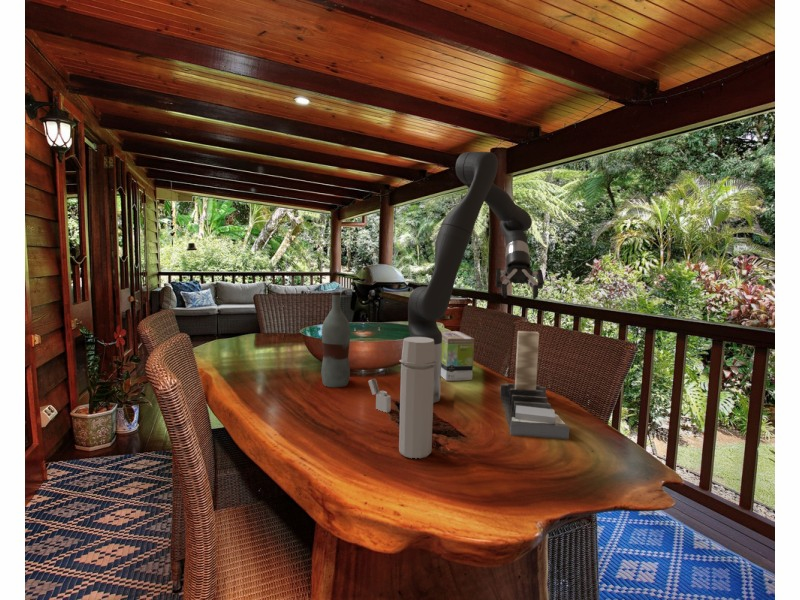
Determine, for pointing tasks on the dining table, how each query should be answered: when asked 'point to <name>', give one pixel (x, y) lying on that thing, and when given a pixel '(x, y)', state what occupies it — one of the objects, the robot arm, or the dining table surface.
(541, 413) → the offcut stack
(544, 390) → the rack
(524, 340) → the beige tall block
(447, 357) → the tea box
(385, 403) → the lighter
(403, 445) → the water bottle
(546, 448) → the dining table surface
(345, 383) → the vodka
